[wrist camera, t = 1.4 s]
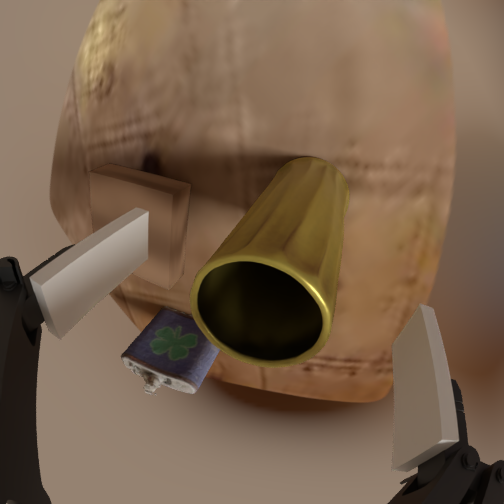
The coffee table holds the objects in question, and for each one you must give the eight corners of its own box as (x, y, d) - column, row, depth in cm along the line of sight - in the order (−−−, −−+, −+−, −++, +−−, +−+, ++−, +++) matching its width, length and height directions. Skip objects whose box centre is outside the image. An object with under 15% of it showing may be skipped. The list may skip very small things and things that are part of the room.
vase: (268, 223, 24) (185, 351, 12) (274, 151, 21) (169, 224, 9) (341, 237, 22) (322, 389, 11) (355, 164, 19) (368, 264, 7)
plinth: (109, 163, 26) (89, 171, 23) (191, 184, 24) (173, 194, 22) (112, 244, 31) (96, 256, 29) (183, 274, 30) (168, 290, 27)
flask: (229, 323, 31) (186, 400, 22) (229, 341, 33) (190, 414, 24) (159, 303, 33) (107, 364, 24) (163, 320, 35) (115, 380, 26)
